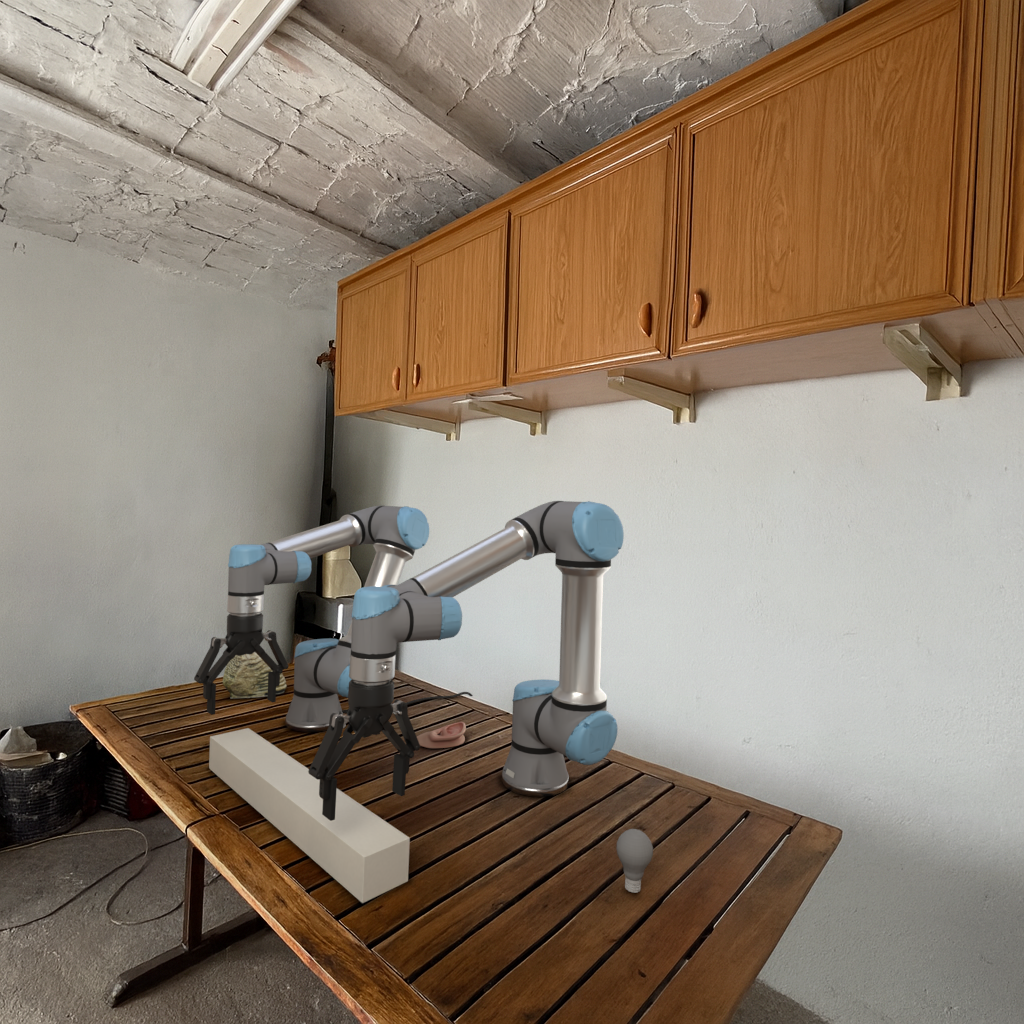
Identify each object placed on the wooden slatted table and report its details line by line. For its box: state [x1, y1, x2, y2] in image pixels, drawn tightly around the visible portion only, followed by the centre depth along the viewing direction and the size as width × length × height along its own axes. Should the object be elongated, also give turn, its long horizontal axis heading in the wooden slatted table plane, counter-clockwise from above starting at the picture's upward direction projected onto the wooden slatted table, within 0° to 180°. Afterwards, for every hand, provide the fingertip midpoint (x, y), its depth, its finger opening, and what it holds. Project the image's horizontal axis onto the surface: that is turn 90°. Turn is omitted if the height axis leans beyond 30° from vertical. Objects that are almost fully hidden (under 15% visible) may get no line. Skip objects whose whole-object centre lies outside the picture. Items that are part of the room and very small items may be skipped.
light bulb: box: [615, 828, 654, 894], centre depth 106 cm, size 6×6×10 cm
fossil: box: [222, 652, 288, 699], centre depth 198 cm, size 9×18×15 cm, turn 132°
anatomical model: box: [416, 721, 467, 749], centre depth 167 cm, size 13×4×12 cm
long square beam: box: [208, 727, 411, 904], centre depth 125 cm, size 65×9×7 cm, turn 45°
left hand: (242, 706), depth 143 cm, fingers open, 13 cm apart
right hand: (365, 804), depth 107 cm, fingers open, 13 cm apart
